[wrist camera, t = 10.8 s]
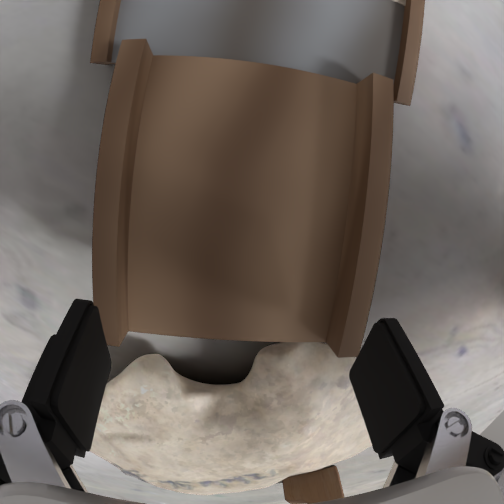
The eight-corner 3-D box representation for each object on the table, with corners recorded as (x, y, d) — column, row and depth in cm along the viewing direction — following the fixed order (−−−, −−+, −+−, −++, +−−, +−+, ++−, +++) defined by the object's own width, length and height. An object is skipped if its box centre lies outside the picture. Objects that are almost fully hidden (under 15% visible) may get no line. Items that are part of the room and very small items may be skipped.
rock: (383, 408, 31) (174, 464, 36) (340, 258, 18) (35, 377, 23) (402, 459, 25) (173, 509, 29) (390, 352, 12) (14, 438, 17)
